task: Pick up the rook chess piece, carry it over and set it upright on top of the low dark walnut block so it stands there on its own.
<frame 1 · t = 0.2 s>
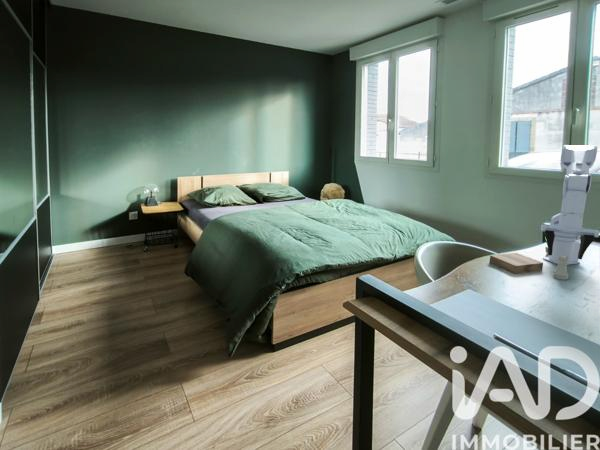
hand: (564, 256, 114), 10 cm above the table, tool pointing down, fingers open, 7 cm apart
rook chess piece: (560, 278, 125), on the table
walnut block: (514, 266, 136), on the table
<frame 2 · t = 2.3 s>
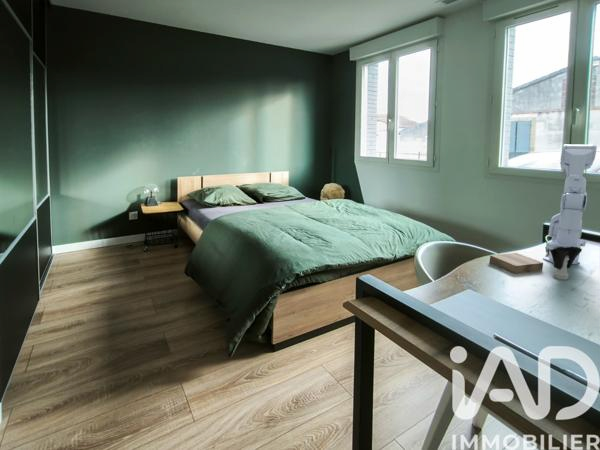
hand: (561, 267, 124), 4 cm above the table, tool pointing down, fingers closed on rook chess piece, 3 cm apart
rook chess piece: (560, 278, 125), on the table, touching gripper
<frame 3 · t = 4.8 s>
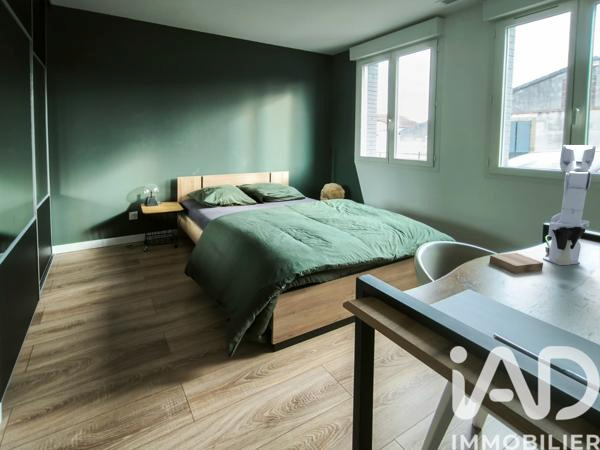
hand: (565, 248, 122), 10 cm above the table, tool pointing down, fingers closed on rook chess piece, 3 cm apart
rook chess piece: (563, 263, 123), point 5 cm above the table, touching gripper
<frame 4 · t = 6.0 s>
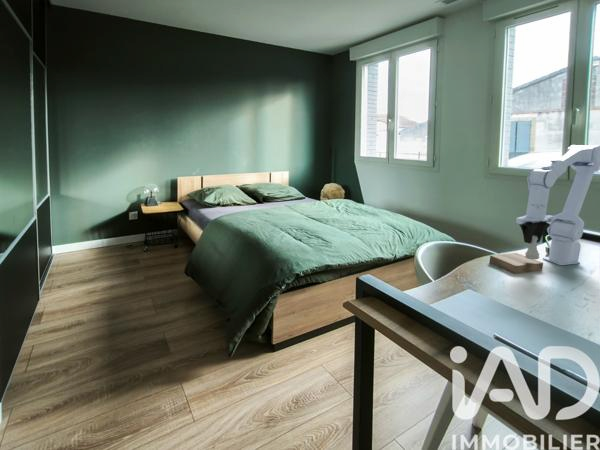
hand: (531, 242, 130), 10 cm above the table, tool pointing down, fingers closed on rook chess piece, 3 cm apart
rook chess piece: (532, 258, 130), point 5 cm above the table, touching gripper
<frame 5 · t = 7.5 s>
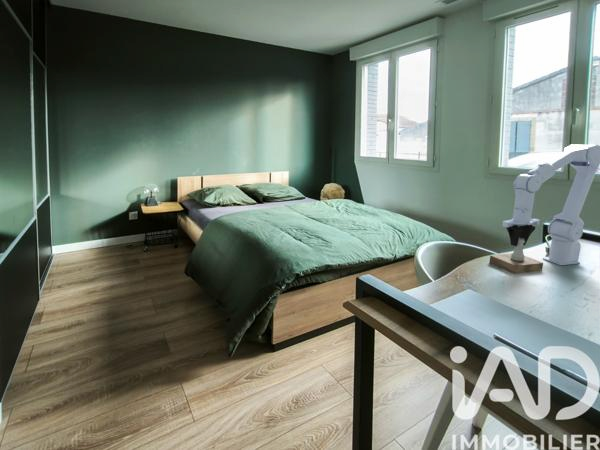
hand: (517, 244, 134), 8 cm above the table, tool pointing down, fingers closed on rook chess piece, 3 cm apart
rook chess piece: (517, 260, 134), point 3 cm above the table, touching gripper, walnut block
when the fingers open (7 cm above the table, at t = 8.0 s): rook chess piece stays where it is, resting on walnut block.
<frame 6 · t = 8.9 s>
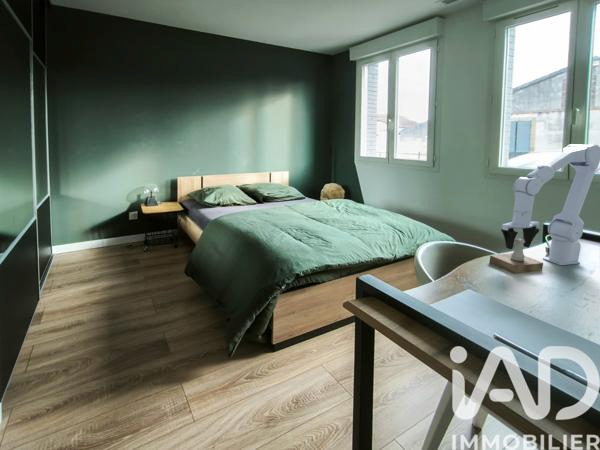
hand: (517, 247, 134), 7 cm above the table, tool pointing down, fingers open, 7 cm apart
rook chess piece: (517, 260, 134), point 3 cm above the table, touching walnut block
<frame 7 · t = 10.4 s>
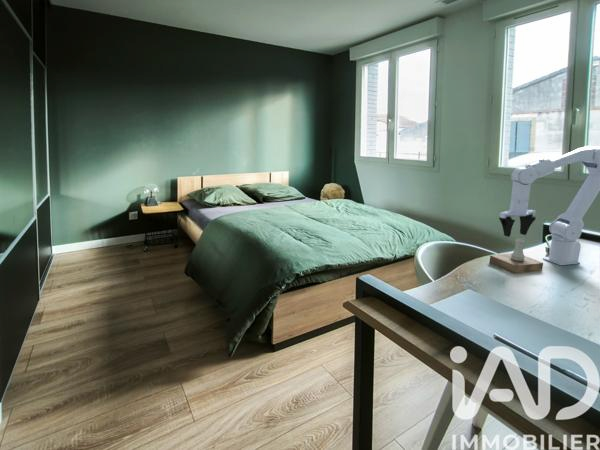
hand: (515, 235, 140), 10 cm above the table, tool pointing down, fingers open, 7 cm apart
nothing on the table moved.
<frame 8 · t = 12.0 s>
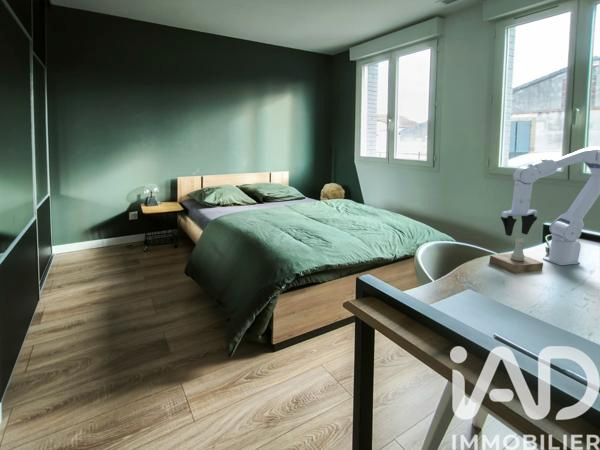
hand: (516, 234, 140), 10 cm above the table, tool pointing down, fingers open, 7 cm apart
nothing on the table moved.
at the end: rook chess piece inside the target area on the walnut block (0.6 cm from its centre), point 2.8 cm above the walnut block's base; rook chess piece tilted 0°; rook chess piece touching walnut block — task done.
